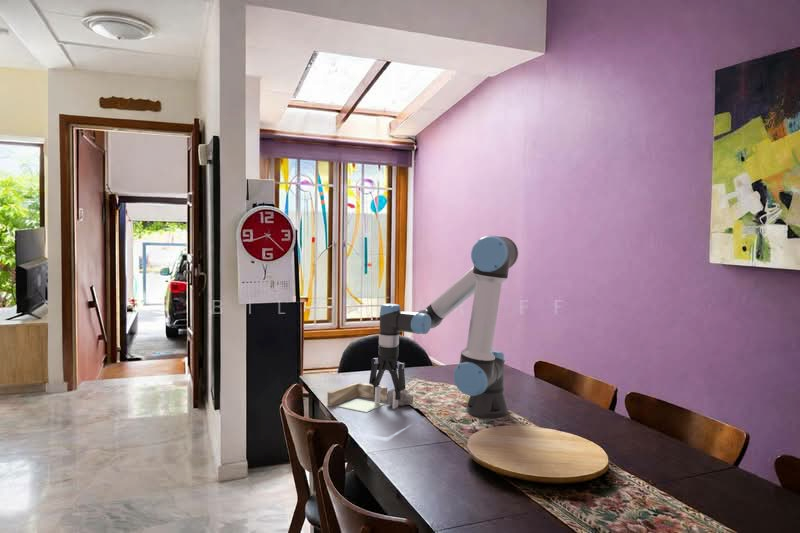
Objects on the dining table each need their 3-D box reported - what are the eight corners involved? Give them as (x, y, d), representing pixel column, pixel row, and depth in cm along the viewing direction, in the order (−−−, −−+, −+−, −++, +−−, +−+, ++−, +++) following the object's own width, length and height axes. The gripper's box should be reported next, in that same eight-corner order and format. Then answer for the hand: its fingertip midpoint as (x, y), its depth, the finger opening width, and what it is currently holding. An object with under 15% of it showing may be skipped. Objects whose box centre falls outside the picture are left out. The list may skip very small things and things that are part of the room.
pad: (384, 404, 201) (384, 403, 201) (366, 412, 191) (366, 411, 191) (356, 399, 208) (356, 398, 207) (337, 406, 197) (337, 406, 197)
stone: (394, 408, 194) (394, 392, 194) (382, 404, 200) (382, 388, 200) (416, 404, 199) (416, 389, 199) (404, 401, 206) (404, 386, 206)
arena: (387, 399, 207) (387, 387, 207) (359, 411, 191) (360, 398, 191) (356, 394, 215) (356, 381, 215) (327, 405, 199) (327, 392, 199)
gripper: (417, 347, 195) (414, 408, 196) (372, 340, 205) (369, 398, 206) (406, 350, 188) (404, 413, 190) (360, 343, 199) (358, 402, 200)
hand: (386, 405), depth 198 cm, fingers open, 7 cm apart
